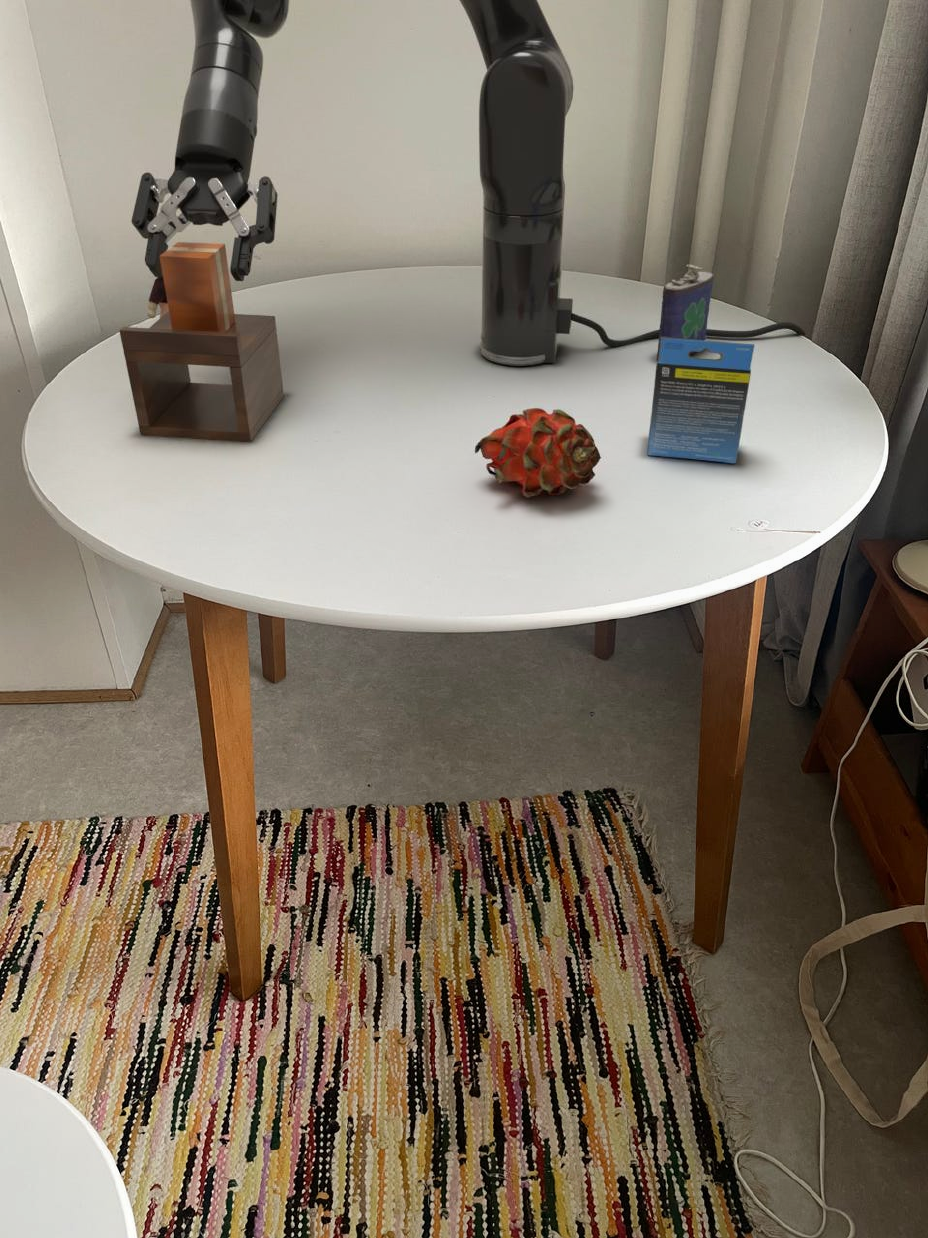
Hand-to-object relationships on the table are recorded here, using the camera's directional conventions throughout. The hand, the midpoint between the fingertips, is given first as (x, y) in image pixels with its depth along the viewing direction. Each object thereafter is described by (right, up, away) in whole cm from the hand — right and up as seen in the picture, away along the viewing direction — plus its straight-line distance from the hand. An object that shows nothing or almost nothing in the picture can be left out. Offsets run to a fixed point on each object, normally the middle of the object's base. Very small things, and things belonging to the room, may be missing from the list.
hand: (196, 275), depth 101 cm
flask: (+54, -2, +23) cm, 59 cm away
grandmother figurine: (-9, -1, +24) cm, 25 cm away
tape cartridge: (+50, -18, +1) cm, 53 cm away
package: (0, -4, +4) cm, 6 cm away
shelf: (0, -12, +8) cm, 15 cm away
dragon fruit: (+34, -22, -6) cm, 41 cm away
